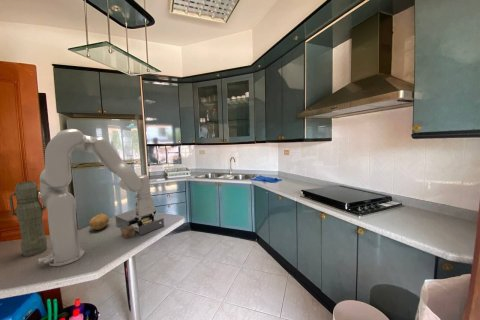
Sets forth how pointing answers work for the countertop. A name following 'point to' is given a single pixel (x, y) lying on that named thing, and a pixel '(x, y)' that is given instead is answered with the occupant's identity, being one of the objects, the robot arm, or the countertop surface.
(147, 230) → the tray
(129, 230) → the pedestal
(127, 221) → the box
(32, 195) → the thermos
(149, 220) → the disc
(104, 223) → the potato
